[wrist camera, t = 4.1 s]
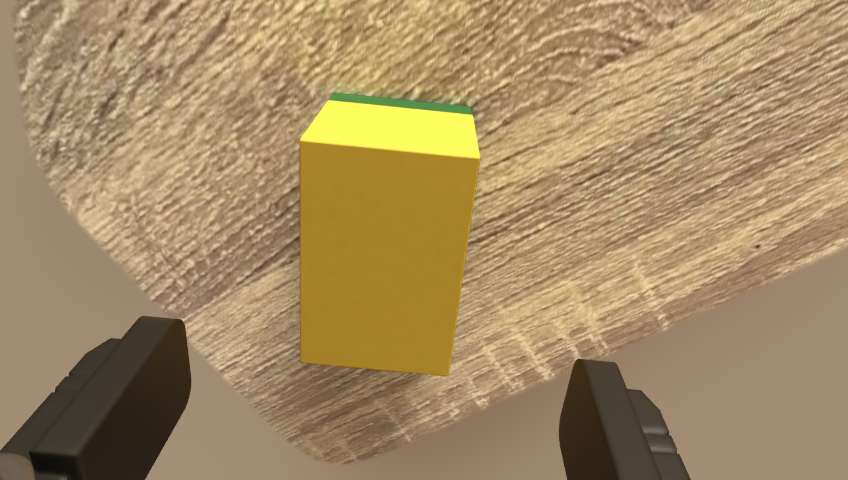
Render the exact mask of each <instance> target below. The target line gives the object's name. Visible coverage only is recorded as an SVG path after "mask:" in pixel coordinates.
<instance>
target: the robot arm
mask: <svg viewBox="0 0 848 480" xmlns="http://www.w3.org/2000/svg"><path fill="white" fill-rule="evenodd" d="M190 390H191V372H190V364H189V356H188V347H187V339H186V330H185V325H184V323H183V321H182V320H180V319H171V318H160V317H150V316H142V317H140V318H139V319H138V320H137V321H136V322H135V323H134V324H133V326H132V327H131V328H130V329H129V330H128V332H127V333H126V334H125V335H124V336H123V338H122V339H114V338H111V339H109V340H107V341H106V342H104V343H102V344H101V345H99V346H98V347H96V348H94V349H93V350H91V351H89V352H88V353H86V354H85V355H84V357H83V358H82V359H81V360H80V361H79V362H78V363H77V364H76V366H75V367H74V368H73V369H72V370H71V371H70V372H69V376H68V377H65V378H64V379H63V380H62V382H61V383H60V384H59V385H58V386H57V387H56V388H55V392H54V393H51V394H50V395H49V396H48V397H47V398H46V400H45V401H44V402H43V403H42V404H41V405H40V406H39V407H38V409H37V410H36V411H35V412H34V413H33V414H32V416H31V417H30V418H29V419H28V420H27V421H26V422H25V423H24V424H23V426H22V427H21V428H20V429H19V430H18V431H17V432H16V434H15V435H14V436H13V437H12V438H11V439H10V441H9V442H8V443H7V444H6V445H5V446H4V447H3V448H2V450H1V451H0V480H145V479H146V477H147V475H148V473H149V471H150V470H151V468H152V466H153V464H154V463H155V461H156V459H157V457H158V456H159V454H160V452H161V450H162V448H163V447H164V445H165V443H166V441H167V440H168V437H169V436H170V434H171V433H172V431H173V429H174V427H175V426H176V424H177V422H178V420H179V419H180V417H181V415H182V413H183V411H184V410H185V408H186V405H187V402H188V399H189V395H190ZM559 441H560V448H561V453H562V457H563V462H564V466H565V471H566V475H567V480H691V479H690V477H689V475H688V473H687V470H686V468H685V466H684V464H683V462H682V459H681V457H680V455H679V454H677V448H676V446H675V443H674V442H673V439H672V437H671V436H669V430H668V428H667V426H666V423H665V421H664V419H663V417H662V414H661V412H660V410H659V409H658V408H657V407H656V406H655V405H654V404H653V403H652V402H651V400H650V399H649V398H648V397H647V396H646V395H645V394H644V393H643V392H642V391H641V390H631V389H627V388H626V385H625V383H624V380H623V378H622V375H621V373H620V370H619V368H618V366H617V364H616V363H615V362H606V361H596V360H586V359H577V360H576V361H575V363H574V366H573V369H572V373H571V377H570V381H569V385H568V389H567V393H566V397H565V400H564V404H563V408H562V412H561V416H560V423H559Z"/></svg>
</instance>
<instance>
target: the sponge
mask: <svg viewBox="0 0 848 480" xmlns="http://www.w3.org/2000/svg"><path fill="white" fill-rule="evenodd" d="M479 165H480V154H479V148H478V143H477V137H476V131H475V126H474V120H473V115H472V110H471V107H468V106H458V105H449V104H439V103H429V102H419V101H409V100H400V99H390V98H380V97H370V96H360V95H350V94H341V93H333V94H332V96H331V97H330V99H329V100H328V101H327V102H326V104H325V105H324V106H323V108H322V109H321V111H320V112H319V114H318V115H317V116H316V118H315V119H314V121H313V122H312V123H311V125H310V126H309V128H308V129H307V131H306V132H305V133H304V135H303V136H302V138H301V139H300V362H301V363H309V364H320V365H331V366H342V367H353V368H363V369H374V370H385V371H396V372H407V373H417V374H428V375H439V376H448V375H449V369H450V363H451V356H452V349H453V342H454V335H455V328H456V322H457V315H458V308H459V301H460V294H461V288H462V281H463V274H464V267H465V260H466V254H467V247H468V240H469V233H470V226H471V219H472V213H473V206H474V199H475V192H476V185H477V179H478V172H479Z"/></svg>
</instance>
